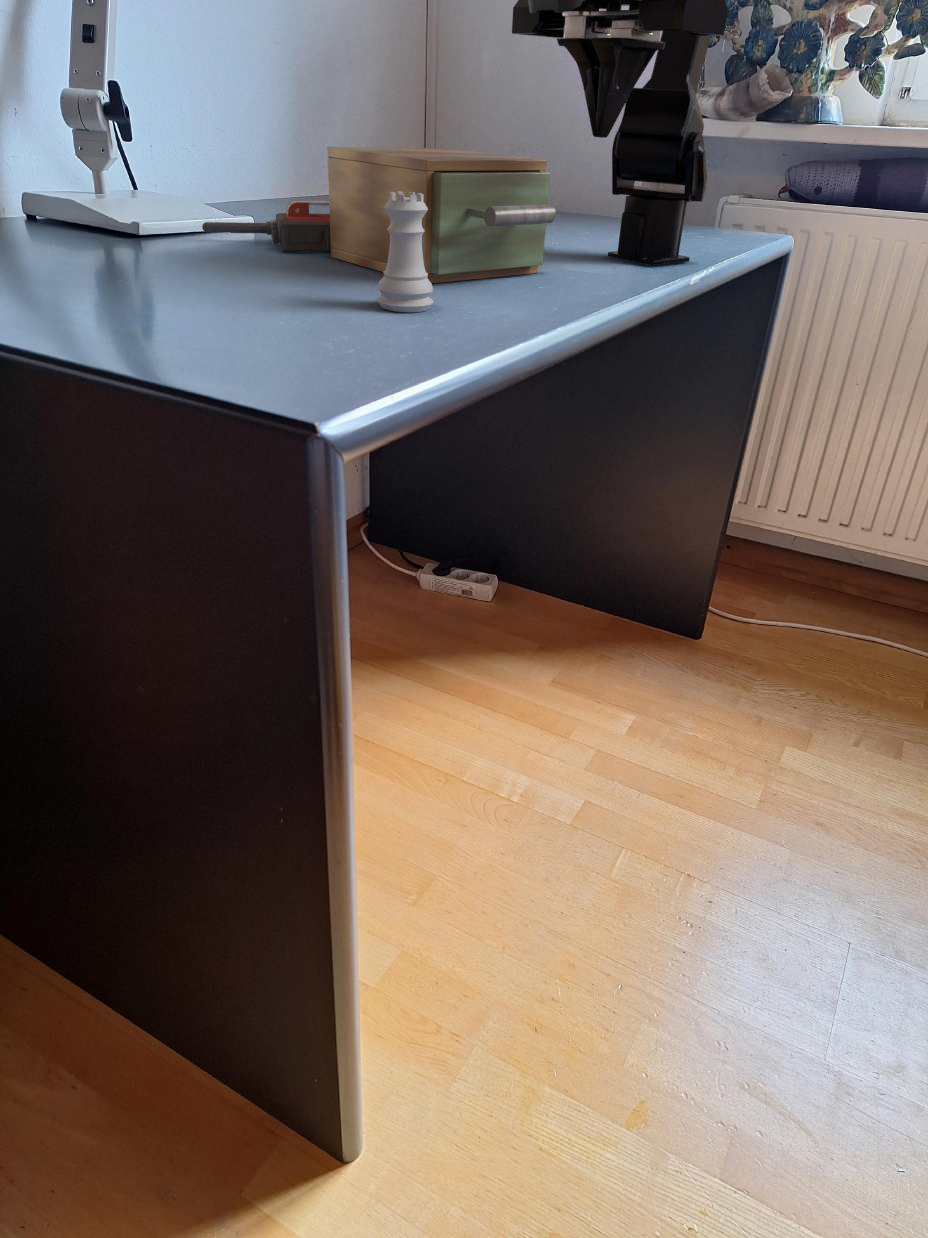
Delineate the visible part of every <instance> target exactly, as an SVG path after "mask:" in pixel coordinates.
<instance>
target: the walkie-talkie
mask: <svg viewBox="0 0 928 1238" xmlns="http://www.w3.org/2000/svg"><path fill="white" fill-rule="evenodd" d="M310 206H329V200H300V199H299V200H298V199H295V200H291V201H289V203H288V204H287V205H286V209H285V211H286V212H279V213H276V214H275V218H274V219H271V221H266V222H232V221H231V222H229V221H226V222H225V221H224V222H223V221H222V222H221V221H205V222H203V224H202V226H201V228H202V231H203V232H205V233H229V234H266V235H267V236H271V243H272V244H273V245H279V247H280V248H281V250H282V251H283V252H284V253H331V242H330V213H324V212H323V213H317V212H310Z"/></svg>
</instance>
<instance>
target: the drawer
mask: <svg viewBox="0 0 928 1238" xmlns="http://www.w3.org/2000/svg"><path fill="white" fill-rule="evenodd" d="M550 181H551V172H548V171H546V172H513V171H434V173H433V182H432V227H431V273H434V274H438V275H441V274H452V273H463V272H474V271H484V270H495V269H506V268H517V267H528V266H538V267H539V266H543V264H544V263H543V262H544V253H545V251H544V250H545V239H546V229H547V224H552V223H553V222H554V221H555V219H556V215H557V214H556V213H557V211H556V208H555V206H554V205H553V204H550V203H549V193H550V183H551V182H550Z"/></svg>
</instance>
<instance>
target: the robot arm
mask: <svg viewBox="0 0 928 1238" xmlns="http://www.w3.org/2000/svg"><path fill="white" fill-rule="evenodd" d="M622 7H628V9H622ZM728 11H729V8H728V4H727V1H726V0H517V1H516V3H515V4H514V6H513V7H512V19H511V21H512V22H511V34H512V35H520V36H532V37H541V38H542V37H543V38H553V39H556V42H557V44H558V46H559V47H563V48H565V49H566V50H567V53H569V54H570V56H571V57H572V58H573V60H574V61H575V62H576V65H577V68H578V72H579V75H580V79H581V83H582V87H583V93H584V97H585V103H586V108H587V113H588V118H589V123H590V128H591V134H592V136H593V137H594V138H600V139H601V138H603V139H605V138H608V137H609V135H610V133H611V131H612V130H613V128H614V126H615V124H616V122H617V120H618V118H619V116H620V115H621V113H622V111H623V115H622V118H621V121H620V124H619V127H618V130H617V131H616V133H615V136H614V138H613V143H612V149H611V194H612V195H613V196H620V195H623V196H625V200H624V202H625V203H624V210H623V212H622V213H621V221H620V228H619V234H618V235H619V237H618V244H617V250H614V251H613V250H612V251H607V257H609V258H612V259H613V258H614V259H619V260H623V261H629V262H633V263H638V264H642V265H646V266H647V265H649V266H660V265H670V264H679V263H687V262H688V263H689V262H690V256H686V255H681V254H680V248H681V243H682V242H681V241H682V236H683V229H684V223H685V218H686V211H687V203H691V202H700V203H701V202H703V201H704V197H705V193H706V191H707V190H706V189H707V182H708V169H707V161H706V158H707V157H706V150H705V141H704V136H703V135H704V128H705V123H704V120H703V116H702V112H701V108H700V105H699V101H698V98H697V92H698V87H699V83H700V80H701V76H702V71H703V68H704V64H705V60H706V56H707V52H708V48H709V45H710V41H711V37H722V36H724V35H725V31H726V24H727V18H728ZM654 55H656V56H655V60H654V62H653V63H654V64H653V68H652V72H651V74H650V75H651V76H650V77H649V79H648V80H647V81H646V83H645V84H644V85H643V86H642V87H635V86H636V84H637V83H638V82H639V79H640V78H641V76H642V75H643V73H644V72H645V70H646V68H647V67H648V65H649V64H650V62H651V60H652V59H653V57H654ZM636 182H641V183H652V184H662V185H663V184H664V185H674V186H684V189H676V188H675V189H674V188H663V187H652V186H642V185H641V186H640V185H635V184H636Z"/></svg>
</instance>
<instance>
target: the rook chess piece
mask: <svg viewBox="0 0 928 1238" xmlns="http://www.w3.org/2000/svg"><path fill="white" fill-rule="evenodd" d="M384 208H385V209H386V211H387V213H388V214H389V216H390V220H391V222H390V226H389V227H388V229H387V230H388V231H389V233H390V248H389V256H388V263H387V267H386V270H385V271H384V272H382V273H383V277H382V278H381V279H380V280H379V281H378V285H377V290H378V291H379V293H380V294H381V295H380V296H378V297H377V298H376V302H377V303H378V305H379V306H380V308H382V309H383V310H385V311H390V312H397V313H420V312H426V311H428V310H430V309H431V307H432V306H433V304H434V303H435V301H434V299H433V298H431V294H432V293H433V292H434V287H433V283H431V282H430V281H429V280H428V278H427V277H428V273H426V271H425V267H424V262H423V252H422V235H423V233H424V232H425V231H424V229H423V228H422V218H423V217H424V215H425V213H426V212H427V210H428V208H427V206H426V205H425V203H424V202H423V194H422V193H417V195H415V192H408V197H404V194H403V192H396V194H395V192H389V200H388V202H387V203H386V205H385V206H384Z"/></svg>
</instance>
